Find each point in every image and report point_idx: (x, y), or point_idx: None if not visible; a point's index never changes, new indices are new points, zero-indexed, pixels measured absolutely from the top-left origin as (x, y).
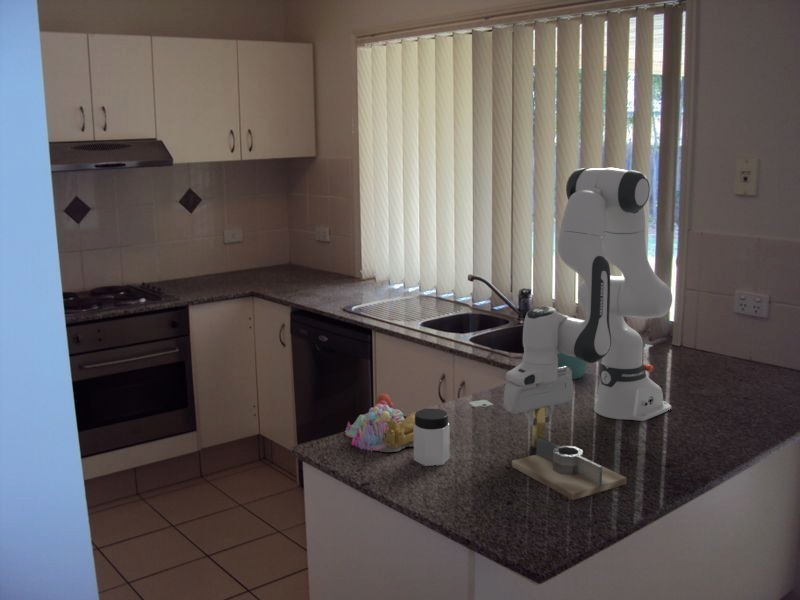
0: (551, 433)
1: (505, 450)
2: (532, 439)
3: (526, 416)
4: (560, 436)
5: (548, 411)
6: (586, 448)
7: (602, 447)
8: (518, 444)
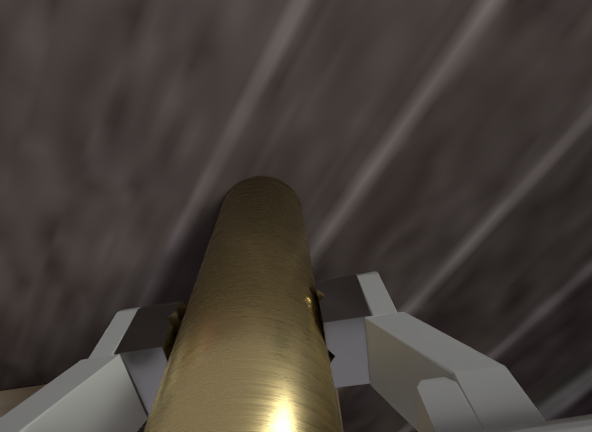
0: (483, 39)
1: (18, 197)
2: (216, 221)
3: (57, 379)
4: (493, 124)
5: (405, 394)
6: (477, 331)
7: (552, 346)
8: (144, 138)
